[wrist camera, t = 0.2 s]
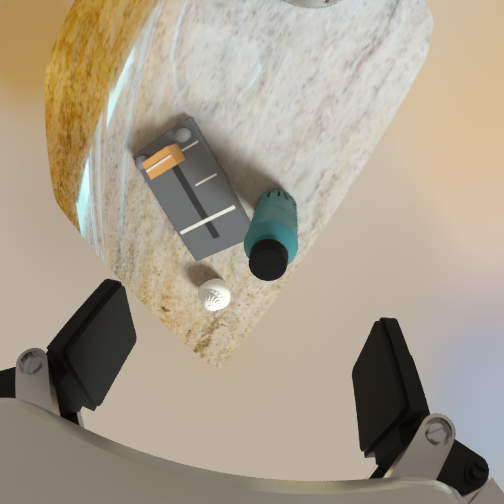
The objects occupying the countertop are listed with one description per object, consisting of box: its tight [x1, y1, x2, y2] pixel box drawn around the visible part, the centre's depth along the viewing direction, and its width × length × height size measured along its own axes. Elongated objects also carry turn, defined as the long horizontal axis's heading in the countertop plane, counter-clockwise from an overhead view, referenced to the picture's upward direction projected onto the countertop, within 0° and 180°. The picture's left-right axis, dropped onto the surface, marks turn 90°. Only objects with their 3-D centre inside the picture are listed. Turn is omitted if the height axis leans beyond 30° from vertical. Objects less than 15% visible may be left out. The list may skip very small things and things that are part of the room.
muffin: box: [198, 278, 230, 311], centre depth 52 cm, size 6×6×7 cm
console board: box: [133, 118, 251, 261], centre depth 45 cm, size 22×12×4 cm, turn 28°
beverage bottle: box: [244, 189, 299, 281], centre depth 37 cm, size 6×7×20 cm
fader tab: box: [142, 143, 186, 180], centre depth 40 cm, size 3×5×4 cm, turn 118°
